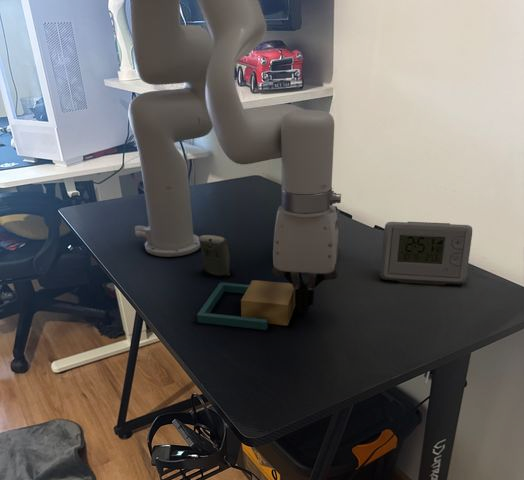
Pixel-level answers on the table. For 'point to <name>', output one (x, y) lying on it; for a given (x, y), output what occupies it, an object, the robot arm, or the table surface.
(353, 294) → the table surface
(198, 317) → the frame
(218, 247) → the beige rounded block
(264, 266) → the table surface
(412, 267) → the digital clock
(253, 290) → the maple block
